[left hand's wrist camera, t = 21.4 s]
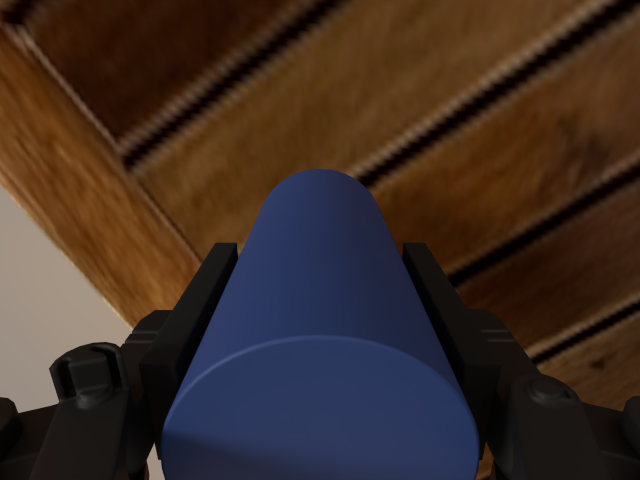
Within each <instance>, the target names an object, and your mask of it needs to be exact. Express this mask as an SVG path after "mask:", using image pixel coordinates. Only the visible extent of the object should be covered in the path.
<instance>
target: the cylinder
mask: <svg viewBox="0 0 640 480" xmlns="http://www.w3.org/2000/svg"><path fill="white" fill-rule="evenodd" d="M160 454H161V464H162V470H163V474H164V477H165V480H475V478H476V475H477V472H478V466H479V458H480V442H479V434H478V430H477V426H476V422H475V419H474V417H473V415H472V413H471V410H470V408H469V406H468V404H467V402H466V399H465V397H464V395H463V393H462V391H461V388H460V386H459V384H458V382H457V379H456V377H455V375H454V373H453V371H452V368H451V366H450V364H449V362H448V360H447V357H446V355H445V353H444V351H443V349H442V346H441V344H440V342H439V340H438V338H437V335H436V333H435V331H434V329H433V327H432V324H431V322H430V320H429V318H428V316H427V313H426V311H425V309H424V307H423V305H422V302H421V300H420V298H419V296H418V294H417V291H416V289H415V287H414V285H413V282H412V280H411V278H410V276H409V274H408V271H407V269H406V267H405V265H404V263H403V260H402V258H401V256H400V254H399V252H398V249H397V247H396V245H395V243H394V241H393V238H392V236H391V234H390V232H389V230H388V227H387V225H386V223H385V221H384V219H383V216H382V214H381V212H380V210H379V208H378V205H377V203H376V201H375V199H374V198H373V196H372V195H371V193H370V192H369V191H368V190H367V189H366V188H365V187H364V186H363V185H362V184H361V183H360V182H358V181H357V180H355V179H354V178H352V177H350V176H348V175H346V174H344V173H341V172H338V171H333V170H326V169H313V170H307V171H303V172H300V173H297V174H294V175H292V176H290V177H288V178H287V179H285V180H284V181H282V182H281V183H280V184H278V185H277V186H276V187H275V188H274V189H273V190H272V192H271V193H270V194H269V195H268V197H267V199H266V200H265V202H264V204H263V206H262V209H261V211H260V213H259V215H258V217H257V220H256V222H255V224H254V226H253V228H252V230H251V233H250V235H249V237H248V239H247V241H246V244H245V246H244V248H243V250H242V252H241V255H240V257H239V259H238V261H237V263H236V266H235V268H234V270H233V272H232V274H231V277H230V279H229V281H228V283H227V285H226V288H225V290H224V292H223V294H222V296H221V299H220V301H219V303H218V305H217V307H216V310H215V312H214V314H213V316H212V318H211V321H210V323H209V325H208V327H207V329H206V332H205V334H204V336H203V338H202V340H201V343H200V345H199V347H198V349H197V351H196V354H195V356H194V358H193V360H192V362H191V365H190V367H189V369H188V371H187V373H186V376H185V378H184V380H183V382H182V384H181V387H180V389H179V391H178V393H177V395H176V398H175V400H174V402H173V404H172V406H171V409H170V411H169V413H168V415H167V417H166V420H165V423H164V427H163V431H162V435H161V446H160Z"/></svg>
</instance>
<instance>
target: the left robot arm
mask: <svg viewBox="0 0 640 480" xmlns="http://www.w3.org/2000/svg"><path fill="white" fill-rule="evenodd" d="M402 260H403V263H404V265H405V267H406V269H407V271H408V274H409V276H410V278H411V280H412V282H413V285H414V287H415V289H416V291H417V294H418V296H419V298H420V300H421V302H422V305H423V307H424V309H425V311H426V313H427V316H428V318H429V320H430V322H431V324H432V327H433V329H434V331H435V333H436V335H437V338H438V340H439V342H440V344H441V346H442V349H443V351H444V353H445V355H446V357H447V360H448V362H449V364H450V366H451V368H452V371H453V373H454V375H455V377H456V379H457V382H458V384H459V386H460V388H461V391H462V393H463V395H464V397H465V399H466V402H467V404H468V406H469V408H470V410H471V413H472V415H473V417H474V419H475V422H476V426H477V430H478V434H479V442H480V458H479V460H482V458H483V453H484V448H485V443H486V442H487V444H488V447H489V449H490V451H491V453H492V455H493V457H494V460H493V465H492V469H491V474H490V478H489V480H640V396H633V397H632V398H630V399H629V400H628V401H627V402H626V404H625V407H624V410H623V412H622V411H617V410H613V409H608V408H604V407H599V406H595V405H590V404H587V403H584V402H581V400H580V399H579V397H578V396H577V394H576V393H575V392H574V391H573V390H572V389H571V388H570V387H568V386H567V385H566V384H565V383H563V382H561V381H559V380H557V379H555V378H553V377H550V376H547V375H544V374H541V373H540V372H539V370H538V369H537V368H536V366H535V365H534V364H533V362H532V361H531V360H530V358H529V357H528V356H527V354H526V353H525V352H524V350H523V349H522V348H521V346H520V345H519V344H518V342H516V340H515V338H514V337H513V336H512V334H511V333H509V330H508V329H507V328H506V326H505V325H504V324H503V322H502V321H501V320H500V319H499V318H498V317H497V316H495V315H494V314H492V313H491V312H489V311H488V310H486V309H467V308H466V307H465V305H464V304H463V302H462V300H461V299H460V297H459V296H458V294H457V293H456V291H455V290H454V288H453V286H452V285H451V283H450V282H449V280H448V279H447V277H446V275H445V274H444V272H443V271H442V269H441V268H440V266H439V264H438V263H437V261H436V260H435V258H434V257H433V255H432V253H431V252H430V250H429V249H428V247H427V246H426V244H425V243H404V244H403V256H402ZM237 261H238V252H237V243H215V245H214V246H213V248H212V249H211V251H210V252H209V254H208V255H207V257H206V259H205V260H204V262H203V263H202V265H201V266H200V268H199V270H198V271H197V273H196V274H195V276H194V277H193V279H192V281H191V282H190V284H189V285H188V287H187V288H186V290H185V292H184V293H183V295H182V296H181V298H180V299H179V301H178V302H177V304H176V306H175V307H174V309H173V310H155V311H153V312H152V313H150V314H149V315H147V316H146V317H144V318H143V319H141V320H140V322H139V323H138V324H137V326H136V327H135V328H134V330H133V331H132V334H130V335H129V336H128V338H127V339H126V340H125V344H122V346H121V347H119V346H117V345H116V344H113V343H108V342H99V343H91V344H87V345H83V346H79V347H77V348H75V349H73V350H70V351H68V352H66V353H65V354H63V355H62V356H61V357H59V358H58V359H56V360H55V362H54V363H53V364H52V365H51V367H50V368H49V370H50V373H51V377H52V380H53V383H54V386H55V389H56V393H57V396H58V399H59V403H58V404H56V405H52V406H48V407H44V408H40V409H35V410H30V411H26V412H22V413H18V411H17V409H16V406H15V404H14V402H13V401H11V400H10V399H8V398H2V397H0V480H149V470H148V465H147V458H148V456H149V453H150V451H151V449H152V447H153V444H154V442H155V447H156V452H157V456H158V460H161V454H160V446H161V435H162V431H163V427H164V423H165V420H166V417H167V415H168V413H169V411H170V409H171V406H172V404H173V402H174V400H175V398H176V395H177V393H178V391H179V389H180V387H181V384H182V382H183V380H184V378H185V376H186V373H187V371H188V369H189V367H190V365H191V362H192V360H193V358H194V356H195V354H196V351H197V349H198V347H199V345H200V343H201V340H202V338H203V336H204V334H205V332H206V329H207V327H208V325H209V323H210V321H211V318H212V316H213V314H214V312H215V310H216V307H217V305H218V303H219V301H220V299H221V296H222V294H223V292H224V290H225V288H226V285H227V283H228V281H229V279H230V277H231V274H232V272H233V270H234V268H235V266H236V263H237Z"/></svg>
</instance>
